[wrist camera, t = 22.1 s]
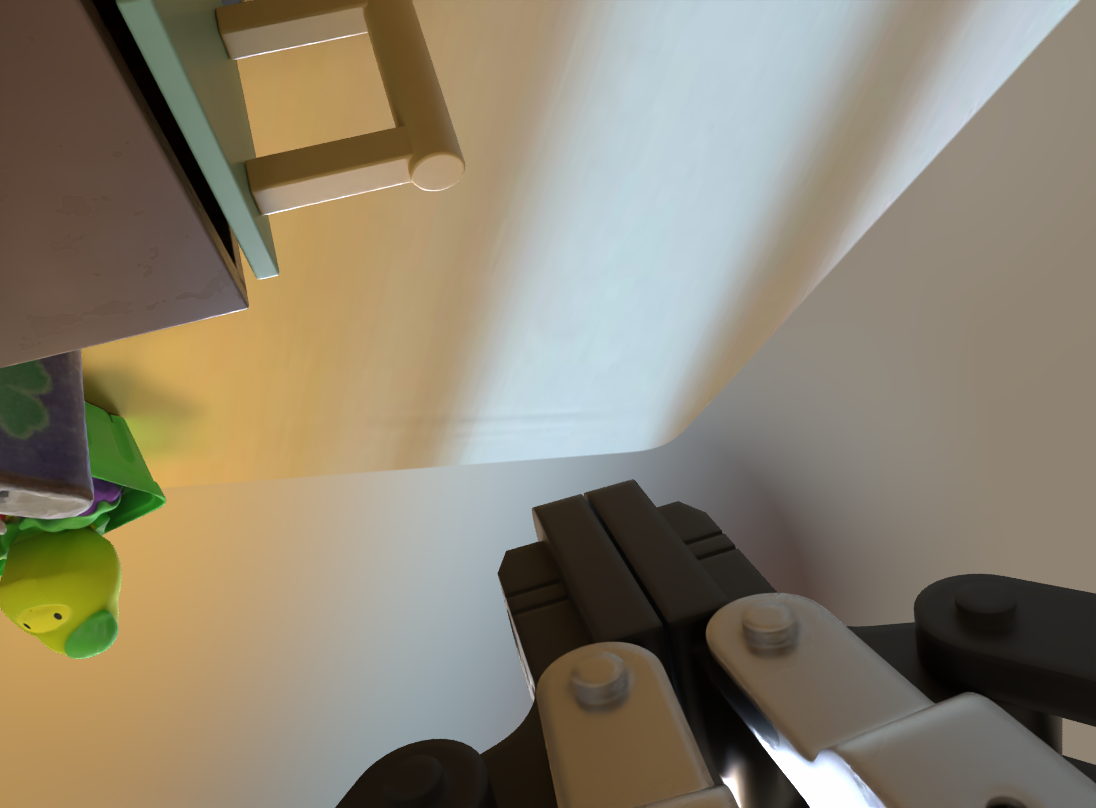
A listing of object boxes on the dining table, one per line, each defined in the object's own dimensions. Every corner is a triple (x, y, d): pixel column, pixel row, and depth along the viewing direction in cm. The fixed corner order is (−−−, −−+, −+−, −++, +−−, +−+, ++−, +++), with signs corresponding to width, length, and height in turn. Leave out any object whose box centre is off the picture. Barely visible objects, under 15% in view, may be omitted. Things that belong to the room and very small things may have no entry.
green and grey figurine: (51, 364, 41) (68, 600, 37) (178, 423, 49) (205, 624, 45) (-147, 455, 43) (-155, 691, 38) (7, 498, 51) (16, 698, 46)
